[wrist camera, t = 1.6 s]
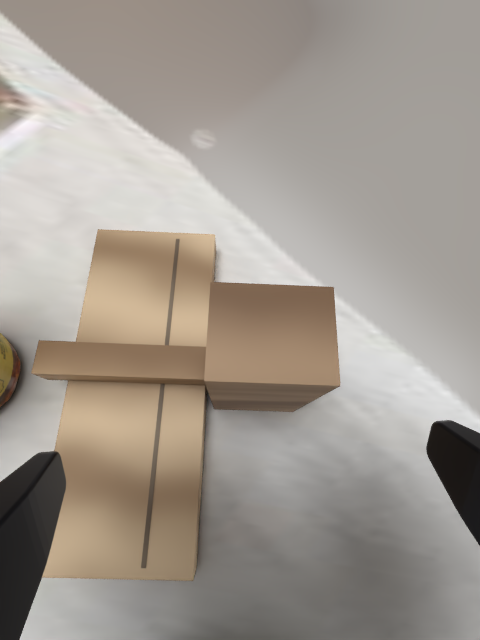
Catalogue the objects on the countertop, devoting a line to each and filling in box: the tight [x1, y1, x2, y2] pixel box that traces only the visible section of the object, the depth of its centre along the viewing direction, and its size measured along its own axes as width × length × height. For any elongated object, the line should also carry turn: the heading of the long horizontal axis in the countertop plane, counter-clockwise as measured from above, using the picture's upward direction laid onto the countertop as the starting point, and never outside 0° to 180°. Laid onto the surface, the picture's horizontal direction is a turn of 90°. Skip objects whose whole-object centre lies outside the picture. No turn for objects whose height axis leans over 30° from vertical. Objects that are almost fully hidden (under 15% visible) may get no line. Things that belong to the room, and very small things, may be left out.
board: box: [42, 229, 216, 581], centre depth 22 cm, size 20×8×2 cm, turn 178°
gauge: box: [31, 282, 340, 412], centre depth 18 cm, size 4×15×10 cm, turn 88°
